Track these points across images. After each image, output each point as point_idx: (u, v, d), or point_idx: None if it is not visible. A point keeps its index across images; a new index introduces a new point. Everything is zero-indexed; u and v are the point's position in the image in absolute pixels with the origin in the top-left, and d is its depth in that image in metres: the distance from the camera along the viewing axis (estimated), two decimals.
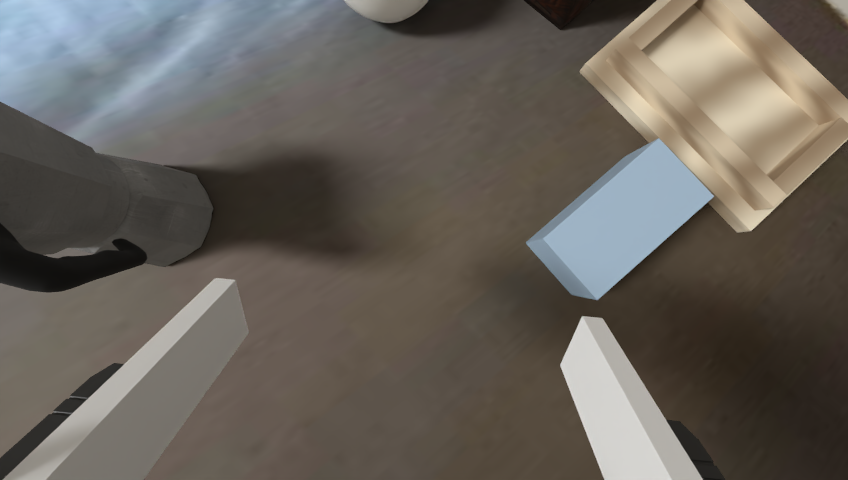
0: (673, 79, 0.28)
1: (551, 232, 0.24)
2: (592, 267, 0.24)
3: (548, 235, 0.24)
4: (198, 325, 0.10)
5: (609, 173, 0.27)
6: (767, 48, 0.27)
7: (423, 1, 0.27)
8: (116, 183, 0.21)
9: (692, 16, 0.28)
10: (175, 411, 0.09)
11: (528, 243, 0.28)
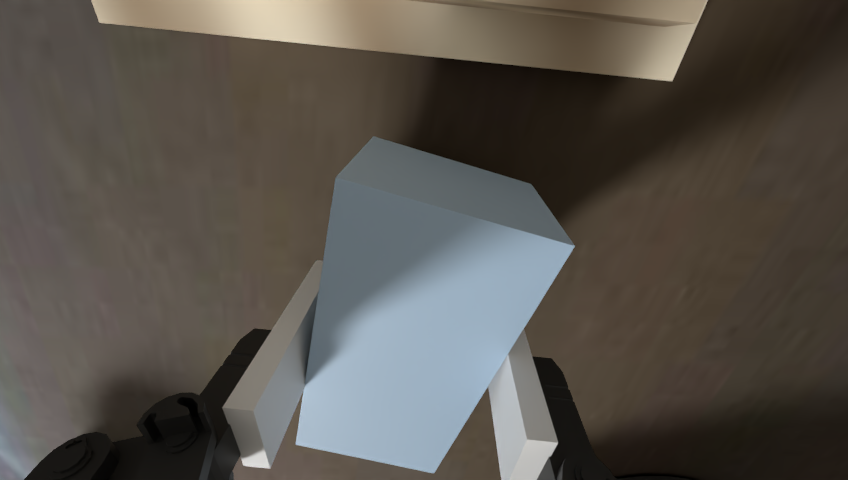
0: None
1: (298, 434, 0.13)
2: (397, 447, 0.13)
3: (298, 438, 0.13)
4: (317, 298, 0.12)
5: None
6: None
7: None
8: None
9: None
10: (304, 370, 0.11)
11: None
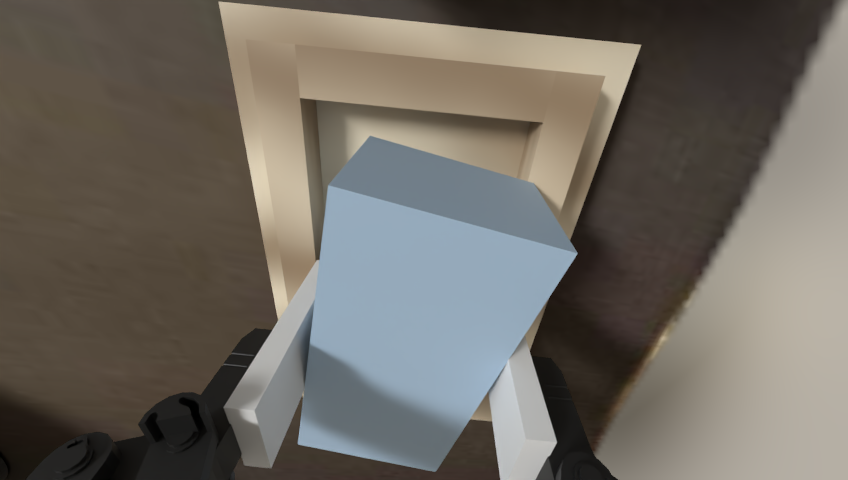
0: None
1: (300, 435, 0.13)
2: (398, 447, 0.13)
3: (300, 438, 0.13)
4: None
5: None
6: None
7: None
8: None
9: (503, 132, 0.12)
10: (304, 370, 0.11)
11: None
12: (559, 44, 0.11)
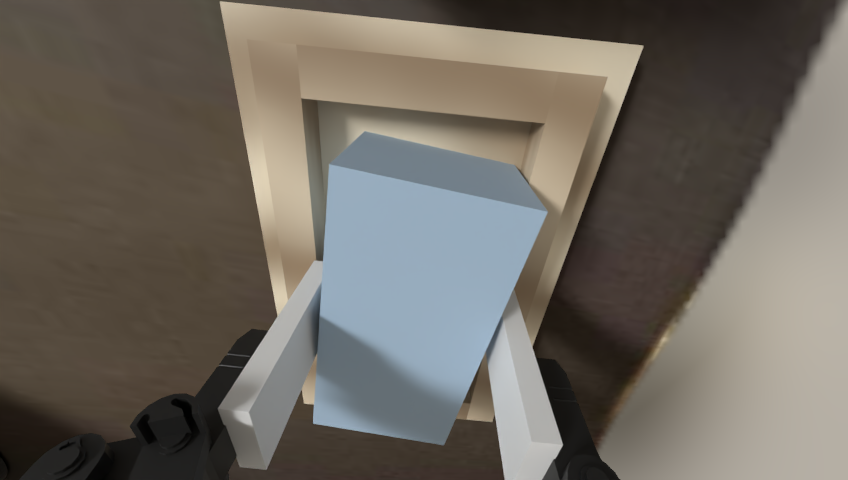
0: None
1: (315, 413, 0.14)
2: (406, 420, 0.14)
3: (315, 417, 0.14)
4: (314, 299, 0.11)
5: None
6: None
7: None
8: None
9: (504, 133, 0.12)
10: (301, 371, 0.11)
11: None
12: (561, 45, 0.11)
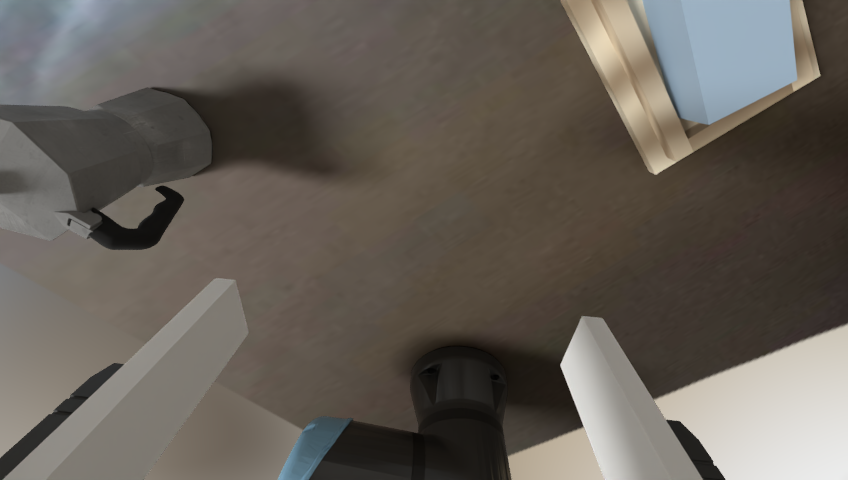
0: None
1: (707, 115, 0.25)
2: (764, 78, 0.24)
3: (708, 118, 0.26)
4: (198, 325, 0.10)
5: (660, 17, 0.25)
6: None
7: None
8: (136, 142, 0.27)
9: None
10: (175, 411, 0.09)
11: (681, 117, 0.29)
12: None
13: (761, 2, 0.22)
